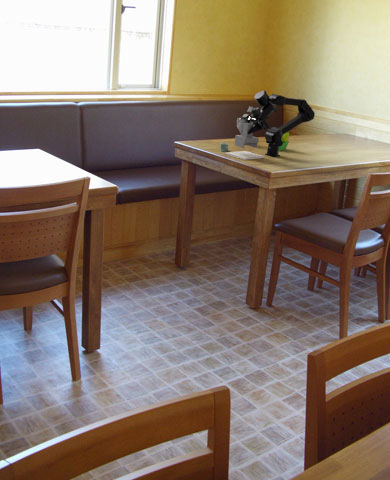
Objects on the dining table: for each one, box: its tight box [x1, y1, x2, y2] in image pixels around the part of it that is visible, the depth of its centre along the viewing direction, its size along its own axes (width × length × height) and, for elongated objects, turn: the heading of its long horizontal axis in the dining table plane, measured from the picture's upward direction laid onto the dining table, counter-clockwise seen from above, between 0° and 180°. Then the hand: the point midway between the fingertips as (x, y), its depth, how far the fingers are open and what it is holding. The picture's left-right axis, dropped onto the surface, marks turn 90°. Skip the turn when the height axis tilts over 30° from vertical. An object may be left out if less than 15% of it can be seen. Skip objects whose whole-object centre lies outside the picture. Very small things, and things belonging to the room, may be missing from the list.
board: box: [225, 150, 265, 161], centre depth 334 cm, size 16×14×1 cm
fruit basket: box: [279, 131, 290, 152], centre depth 363 cm, size 11×9×11 cm
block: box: [219, 142, 229, 153], centre depth 343 cm, size 4×4×4 cm
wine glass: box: [236, 117, 246, 135], centre depth 368 cm, size 8×8×15 cm
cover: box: [234, 123, 260, 149], centre depth 330 cm, size 9×9×12 cm
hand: (245, 132), depth 329 cm, fingers closed on cover, 4 cm apart
